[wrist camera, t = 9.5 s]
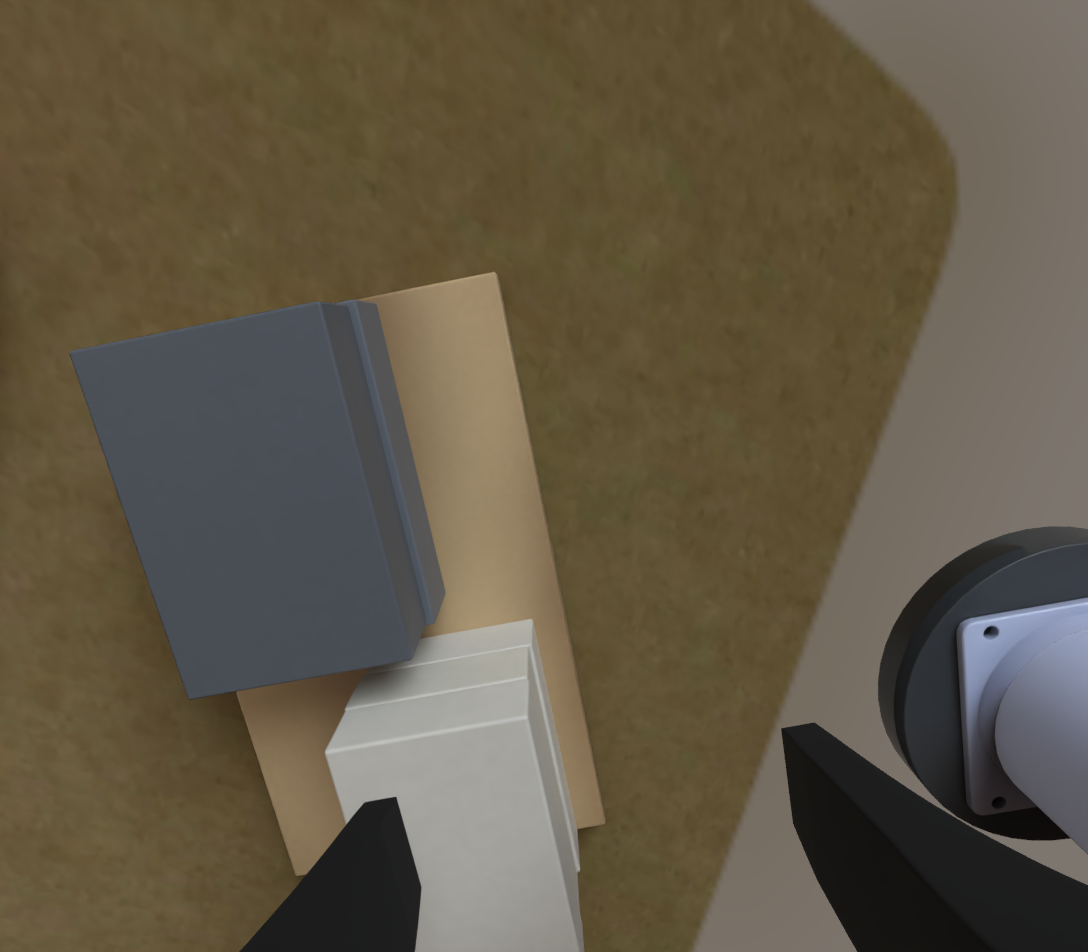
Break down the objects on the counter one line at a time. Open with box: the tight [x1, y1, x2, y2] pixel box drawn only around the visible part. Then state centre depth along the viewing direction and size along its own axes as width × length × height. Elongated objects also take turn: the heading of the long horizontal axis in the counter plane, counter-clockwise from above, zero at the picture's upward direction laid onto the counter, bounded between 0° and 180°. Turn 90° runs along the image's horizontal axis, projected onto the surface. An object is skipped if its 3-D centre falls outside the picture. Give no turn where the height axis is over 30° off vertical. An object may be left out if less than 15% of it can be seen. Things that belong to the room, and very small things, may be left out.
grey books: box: [70, 300, 446, 700], centre depth 17 cm, size 6×9×4 cm, turn 11°
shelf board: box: [236, 272, 606, 876], centre depth 21 cm, size 11×18×1 cm, turn 11°
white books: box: [344, 619, 580, 912], centre depth 20 cm, size 5×8×4 cm, turn 11°
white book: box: [325, 679, 584, 952], centre depth 17 cm, size 5×8×2 cm, turn 11°
